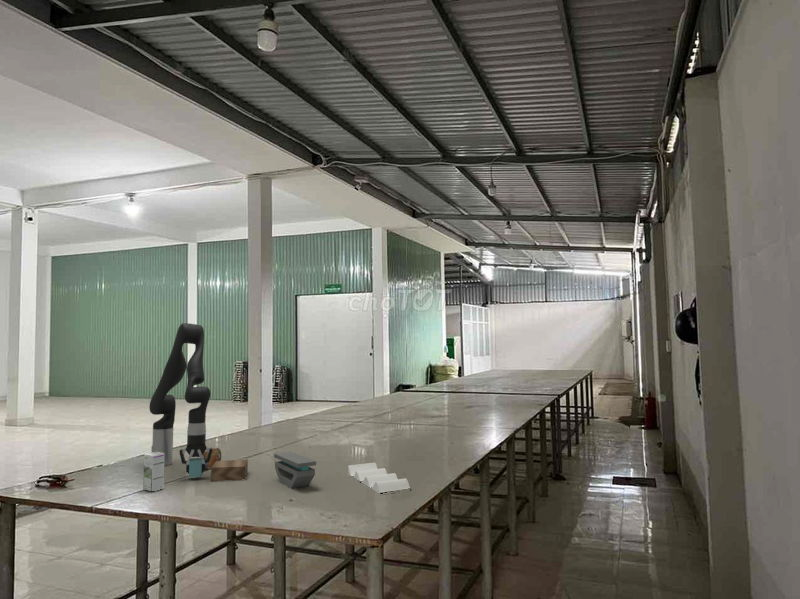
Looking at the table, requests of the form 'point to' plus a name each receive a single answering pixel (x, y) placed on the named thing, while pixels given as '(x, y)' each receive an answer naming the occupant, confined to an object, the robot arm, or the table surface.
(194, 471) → the teal block
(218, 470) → the walnut block
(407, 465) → the table surface
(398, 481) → the white corrugated sheet
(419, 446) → the table surface
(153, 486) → the syrup box
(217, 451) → the tin
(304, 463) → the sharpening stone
